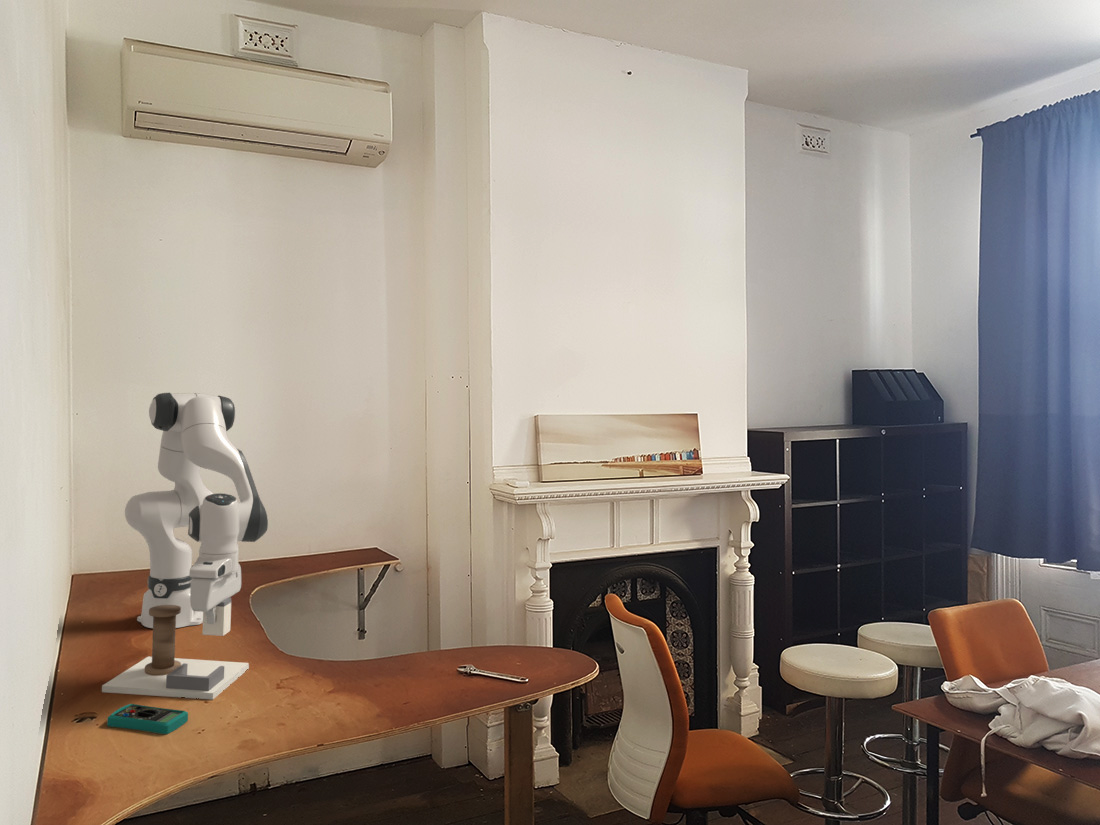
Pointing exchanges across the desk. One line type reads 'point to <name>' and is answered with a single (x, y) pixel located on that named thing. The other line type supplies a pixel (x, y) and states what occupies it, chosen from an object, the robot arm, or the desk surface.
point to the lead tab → (219, 620)
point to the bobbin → (163, 640)
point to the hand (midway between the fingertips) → (216, 619)
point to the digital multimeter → (147, 718)
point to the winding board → (178, 679)
